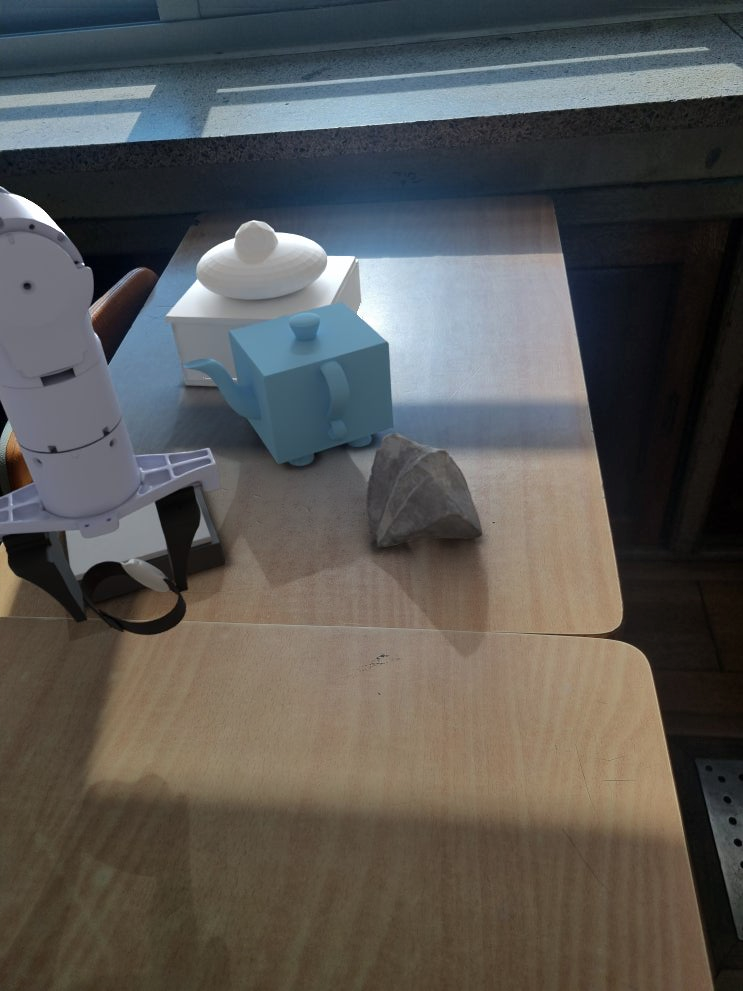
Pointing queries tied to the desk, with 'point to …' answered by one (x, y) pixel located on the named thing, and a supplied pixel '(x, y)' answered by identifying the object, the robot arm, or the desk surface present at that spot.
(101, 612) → the watch
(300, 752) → the desk surface
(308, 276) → the butter dish
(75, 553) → the scale
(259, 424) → the teapot
